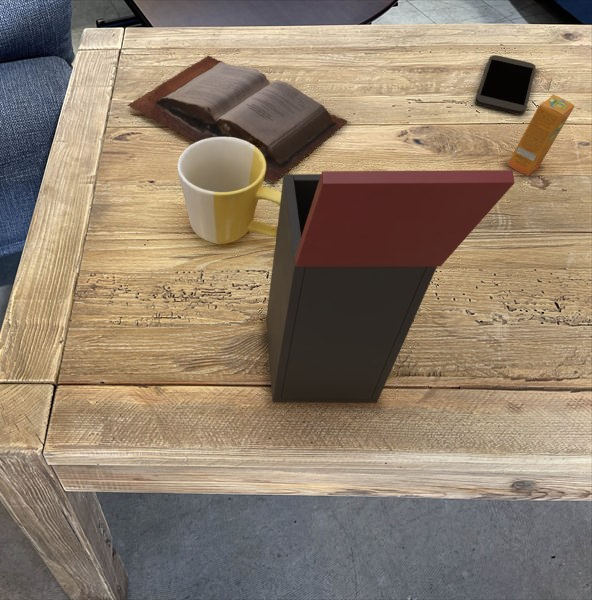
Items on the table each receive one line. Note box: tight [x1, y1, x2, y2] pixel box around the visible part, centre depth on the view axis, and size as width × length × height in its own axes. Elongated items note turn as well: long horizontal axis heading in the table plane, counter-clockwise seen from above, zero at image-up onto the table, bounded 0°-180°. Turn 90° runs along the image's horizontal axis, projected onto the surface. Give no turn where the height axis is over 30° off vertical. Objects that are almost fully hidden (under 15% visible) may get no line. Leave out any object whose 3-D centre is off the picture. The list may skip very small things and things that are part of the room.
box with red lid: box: [265, 173, 438, 404], centre depth 56 cm, size 11×11×21 cm
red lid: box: [295, 169, 516, 268], centre depth 39 cm, size 12×11×1 cm
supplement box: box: [507, 94, 575, 177], centre depth 79 cm, size 3×3×10 cm
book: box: [127, 55, 348, 184], centre depth 91 cm, size 20×28×4 cm
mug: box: [176, 137, 282, 245], centre depth 72 cm, size 14×10×10 cm
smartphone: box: [474, 54, 537, 115], centre depth 95 cm, size 7×15×1 cm, turn 154°
